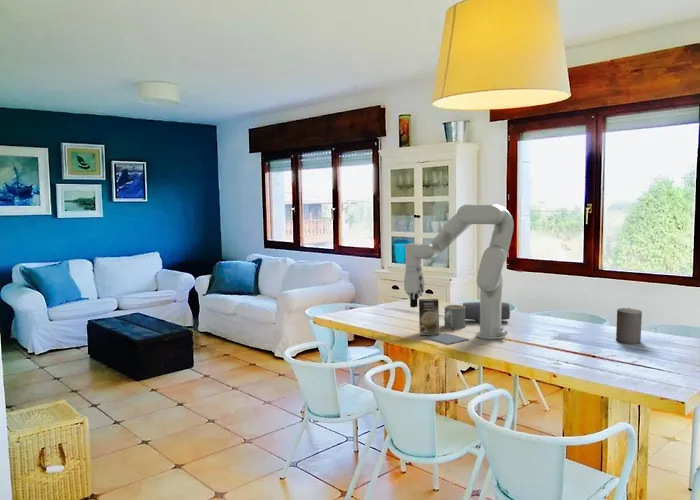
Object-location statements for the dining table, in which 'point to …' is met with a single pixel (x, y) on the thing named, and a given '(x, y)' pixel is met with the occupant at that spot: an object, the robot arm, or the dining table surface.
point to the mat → (446, 338)
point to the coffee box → (429, 316)
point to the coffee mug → (454, 316)
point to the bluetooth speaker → (474, 311)
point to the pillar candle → (628, 326)
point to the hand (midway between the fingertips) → (413, 306)
